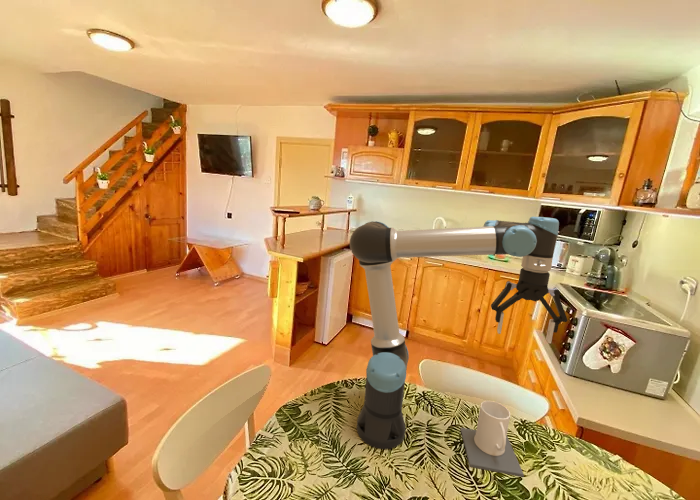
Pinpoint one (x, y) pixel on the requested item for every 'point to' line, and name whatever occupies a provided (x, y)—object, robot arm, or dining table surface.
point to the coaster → (490, 456)
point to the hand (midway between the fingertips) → (522, 336)
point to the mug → (492, 428)
